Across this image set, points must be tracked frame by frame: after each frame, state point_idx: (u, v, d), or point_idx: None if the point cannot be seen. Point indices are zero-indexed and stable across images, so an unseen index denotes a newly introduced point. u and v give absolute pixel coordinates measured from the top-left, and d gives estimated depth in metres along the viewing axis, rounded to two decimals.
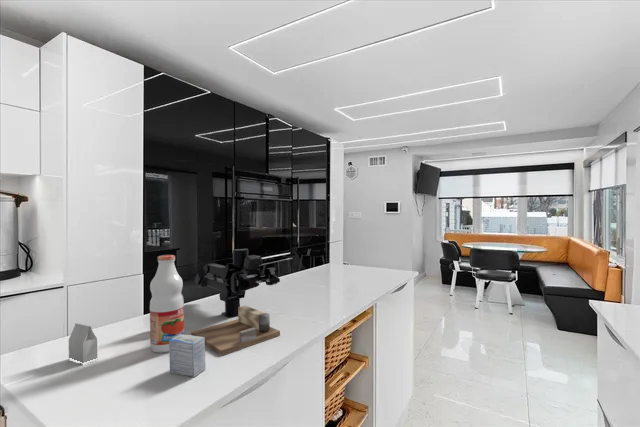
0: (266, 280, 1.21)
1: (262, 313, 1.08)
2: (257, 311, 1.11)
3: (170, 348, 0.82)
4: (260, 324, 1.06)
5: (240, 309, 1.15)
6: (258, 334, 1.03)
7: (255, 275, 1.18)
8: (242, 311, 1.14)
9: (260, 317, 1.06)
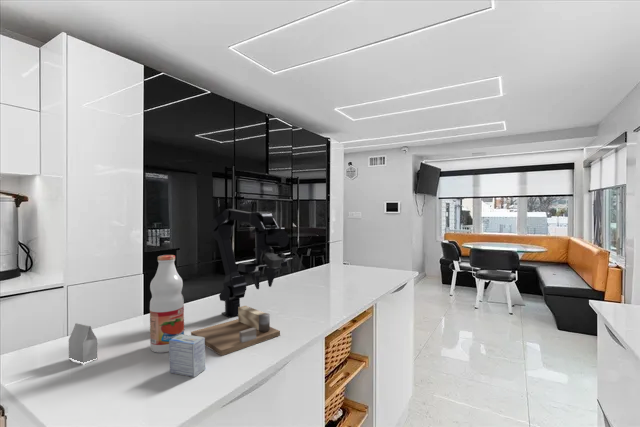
0: None
1: (262, 313, 1.08)
2: (257, 311, 1.11)
3: (170, 348, 0.82)
4: (260, 324, 1.06)
5: (240, 309, 1.15)
6: (258, 334, 1.03)
7: None
8: (242, 311, 1.14)
9: (260, 317, 1.06)
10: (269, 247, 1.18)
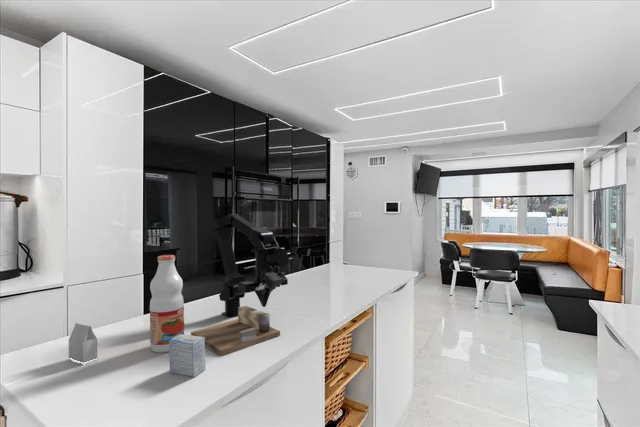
0: None
1: (262, 313, 1.08)
2: (257, 311, 1.11)
3: (170, 348, 0.82)
4: (260, 324, 1.06)
5: (240, 309, 1.15)
6: (258, 334, 1.03)
7: None
8: (242, 311, 1.14)
9: (260, 317, 1.06)
10: (269, 266, 1.18)
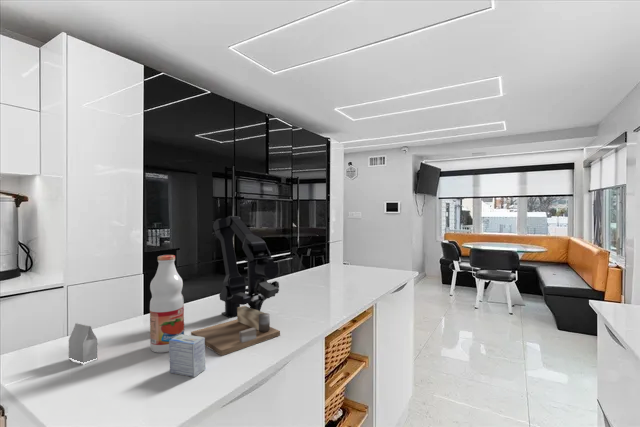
0: None
1: (262, 313, 1.08)
2: (257, 311, 1.11)
3: (170, 348, 0.82)
4: (260, 324, 1.06)
5: (239, 309, 1.15)
6: (258, 334, 1.03)
7: None
8: (241, 311, 1.14)
9: (260, 317, 1.06)
10: None
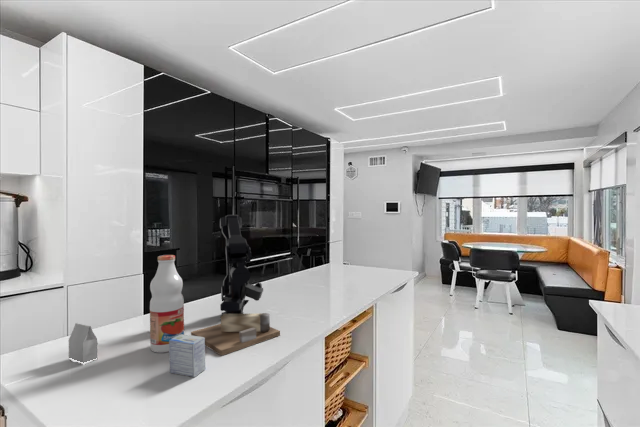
0: None
1: (260, 314, 1.07)
2: (249, 314, 1.08)
3: (170, 348, 0.82)
4: (264, 324, 1.05)
5: (225, 317, 1.06)
6: (258, 334, 1.03)
7: None
8: (229, 319, 1.06)
9: (264, 317, 1.05)
10: None
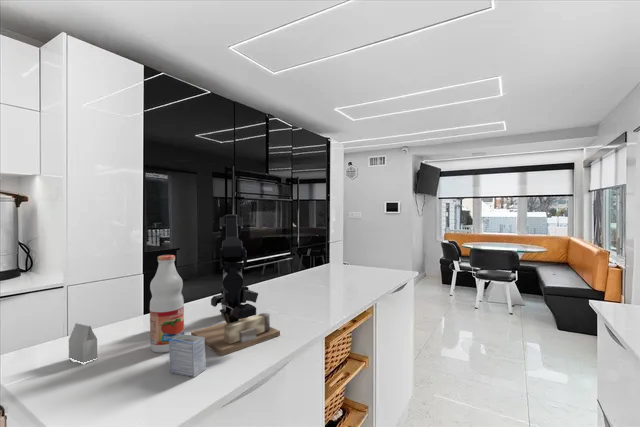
0: None
1: (260, 315, 1.06)
2: (250, 318, 1.04)
3: (170, 348, 0.82)
4: (268, 323, 1.06)
5: (234, 327, 0.97)
6: (258, 334, 1.03)
7: None
8: (237, 327, 0.98)
9: (268, 316, 1.06)
10: None
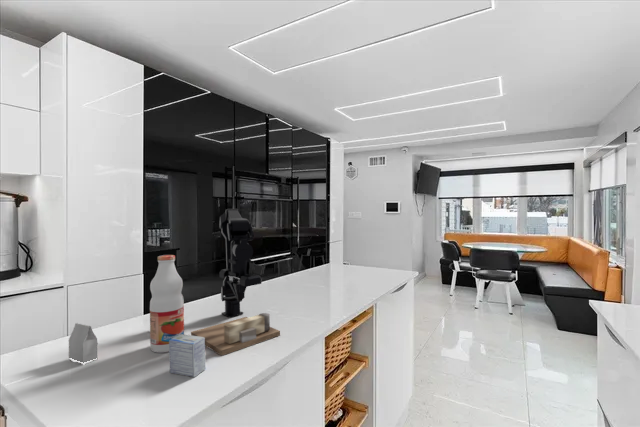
0: None
1: (260, 315, 1.06)
2: (250, 318, 1.04)
3: (170, 348, 0.82)
4: (268, 323, 1.06)
5: (233, 327, 0.97)
6: (258, 334, 1.03)
7: None
8: (237, 327, 0.98)
9: (268, 316, 1.06)
10: None
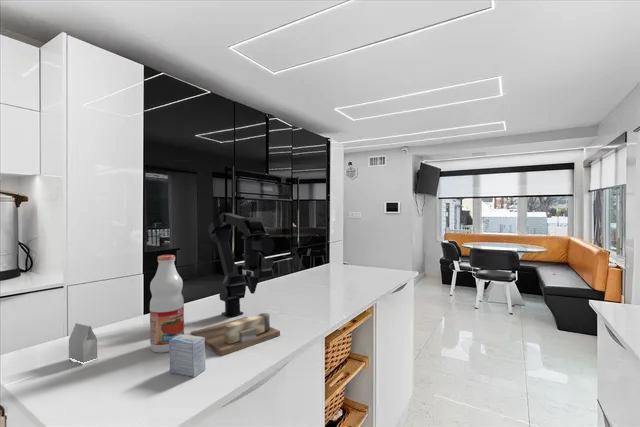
0: (242, 269, 1.22)
1: (260, 315, 1.06)
2: (250, 318, 1.04)
3: (170, 348, 0.82)
4: (268, 323, 1.06)
5: (233, 327, 0.97)
6: (258, 334, 1.03)
7: None
8: (237, 327, 0.98)
9: (268, 316, 1.06)
10: None
